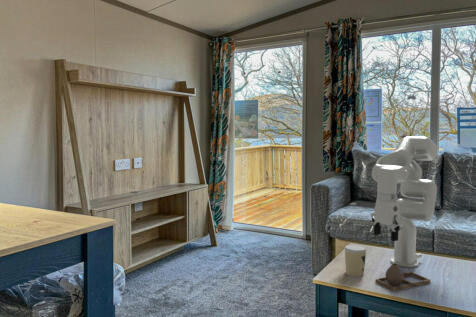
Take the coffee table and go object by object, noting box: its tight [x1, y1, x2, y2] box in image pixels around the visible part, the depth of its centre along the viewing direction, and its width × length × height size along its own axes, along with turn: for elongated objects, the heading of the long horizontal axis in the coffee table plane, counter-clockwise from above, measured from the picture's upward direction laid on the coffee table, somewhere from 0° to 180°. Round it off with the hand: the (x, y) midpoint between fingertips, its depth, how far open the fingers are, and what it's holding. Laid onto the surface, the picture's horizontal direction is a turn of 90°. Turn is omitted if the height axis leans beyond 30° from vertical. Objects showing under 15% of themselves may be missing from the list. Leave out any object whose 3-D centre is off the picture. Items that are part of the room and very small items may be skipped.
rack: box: [375, 271, 431, 292], centre depth 165 cm, size 21×13×2 cm, turn 115°
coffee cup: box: [344, 244, 367, 277], centre depth 174 cm, size 9×9×12 cm
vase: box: [385, 263, 404, 287], centre depth 161 cm, size 7×7×9 cm
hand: (385, 237), depth 161 cm, fingers open, 9 cm apart
